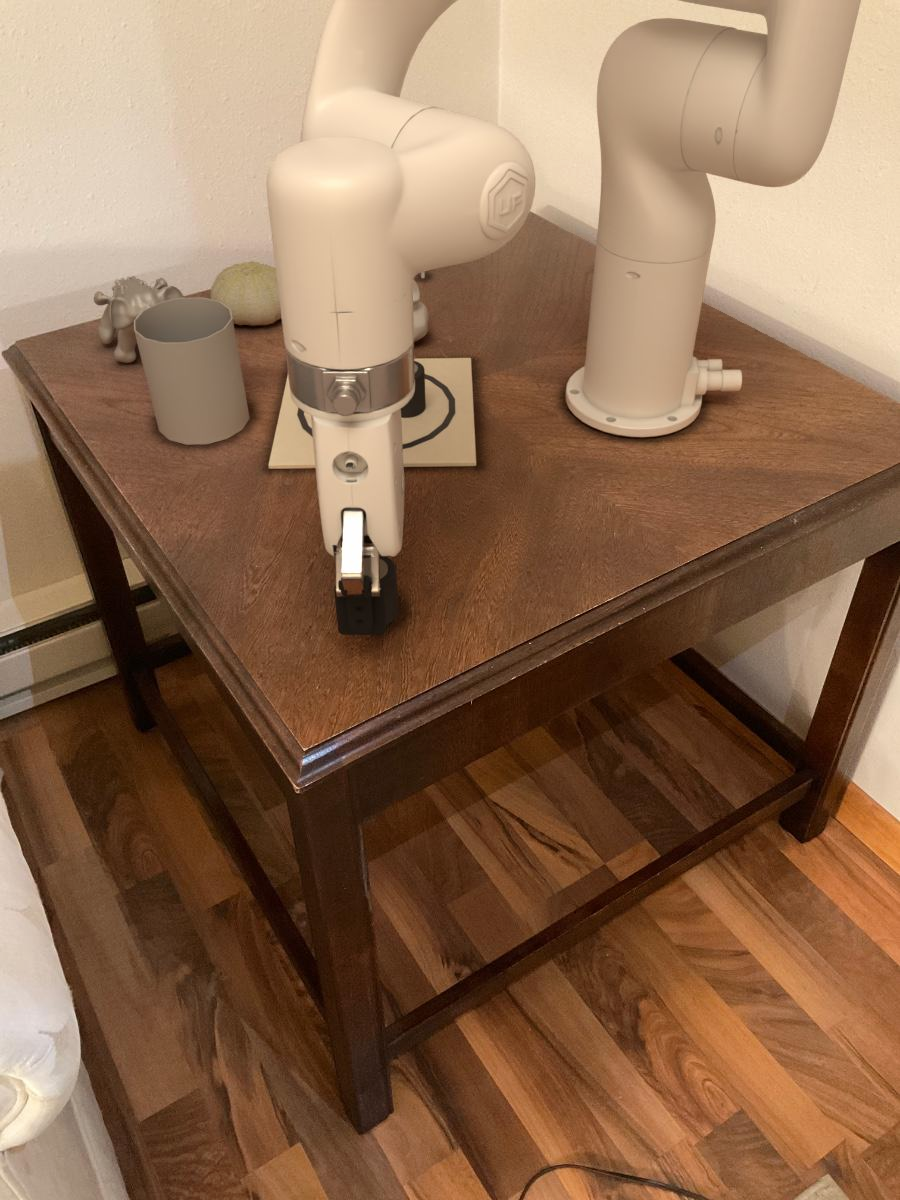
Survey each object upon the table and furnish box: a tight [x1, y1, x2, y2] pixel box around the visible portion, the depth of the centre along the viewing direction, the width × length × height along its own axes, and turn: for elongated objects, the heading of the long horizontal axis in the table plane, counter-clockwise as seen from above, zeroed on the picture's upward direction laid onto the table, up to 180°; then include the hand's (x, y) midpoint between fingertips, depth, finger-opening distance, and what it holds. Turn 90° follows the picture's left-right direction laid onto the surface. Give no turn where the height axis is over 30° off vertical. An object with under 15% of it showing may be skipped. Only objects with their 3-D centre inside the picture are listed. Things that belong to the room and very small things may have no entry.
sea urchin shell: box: [209, 260, 282, 327], centre depth 105 cm, size 9×8×8 cm
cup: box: [134, 296, 251, 446], centre depth 88 cm, size 8×8×10 cm
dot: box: [364, 555, 400, 626], centre depth 71 cm, size 4×4×4 cm
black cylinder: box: [401, 361, 426, 418], centre depth 90 cm, size 4×4×4 cm
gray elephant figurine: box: [93, 275, 185, 364], centre depth 98 cm, size 9×12×8 cm
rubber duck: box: [413, 278, 430, 343], centre depth 100 cm, size 5×7×8 cm
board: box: [268, 357, 477, 470], centre depth 92 cm, size 18×18×1 cm
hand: (366, 584), depth 70 cm, fingers open, 9 cm apart
